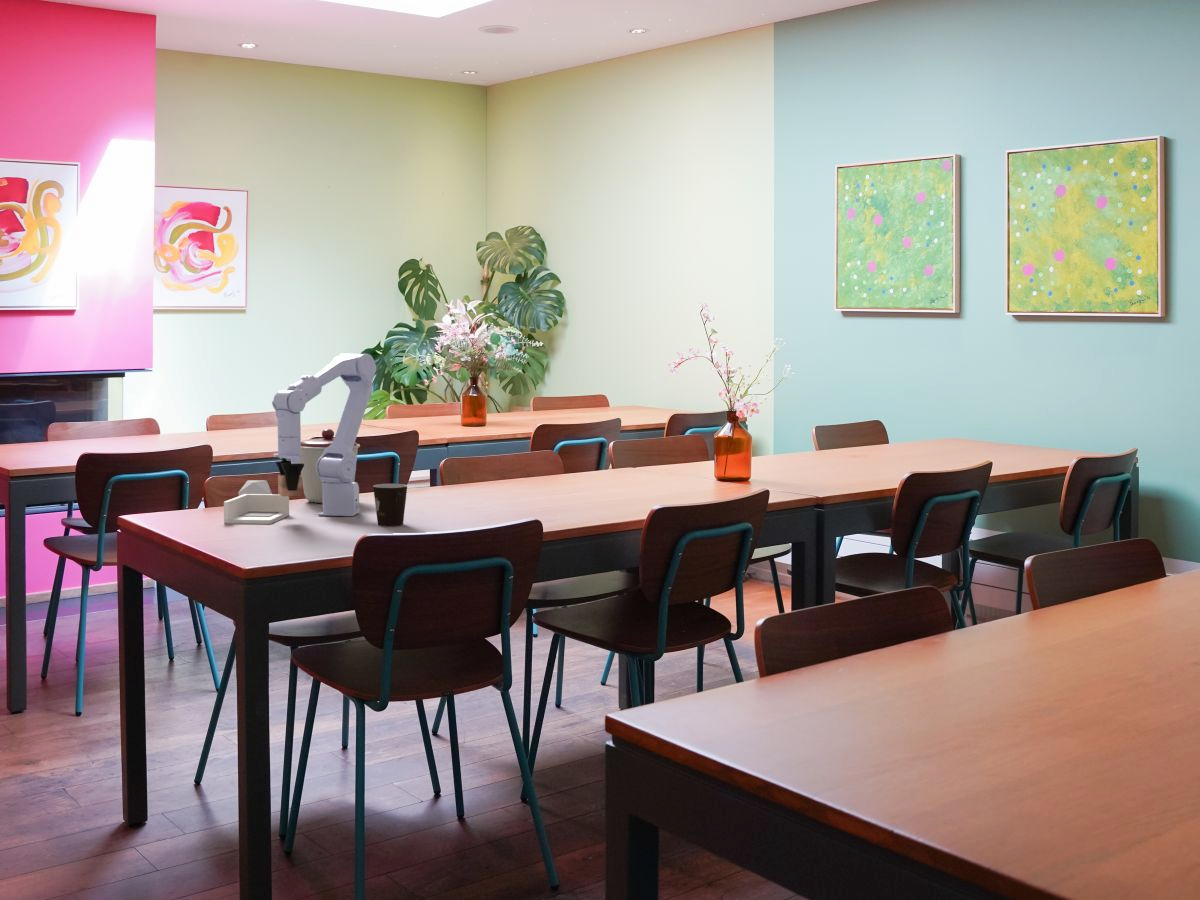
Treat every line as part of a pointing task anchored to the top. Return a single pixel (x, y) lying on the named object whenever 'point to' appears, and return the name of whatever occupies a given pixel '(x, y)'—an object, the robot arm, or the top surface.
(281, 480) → the cube
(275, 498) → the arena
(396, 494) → the coffee mug
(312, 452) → the canister
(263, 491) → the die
